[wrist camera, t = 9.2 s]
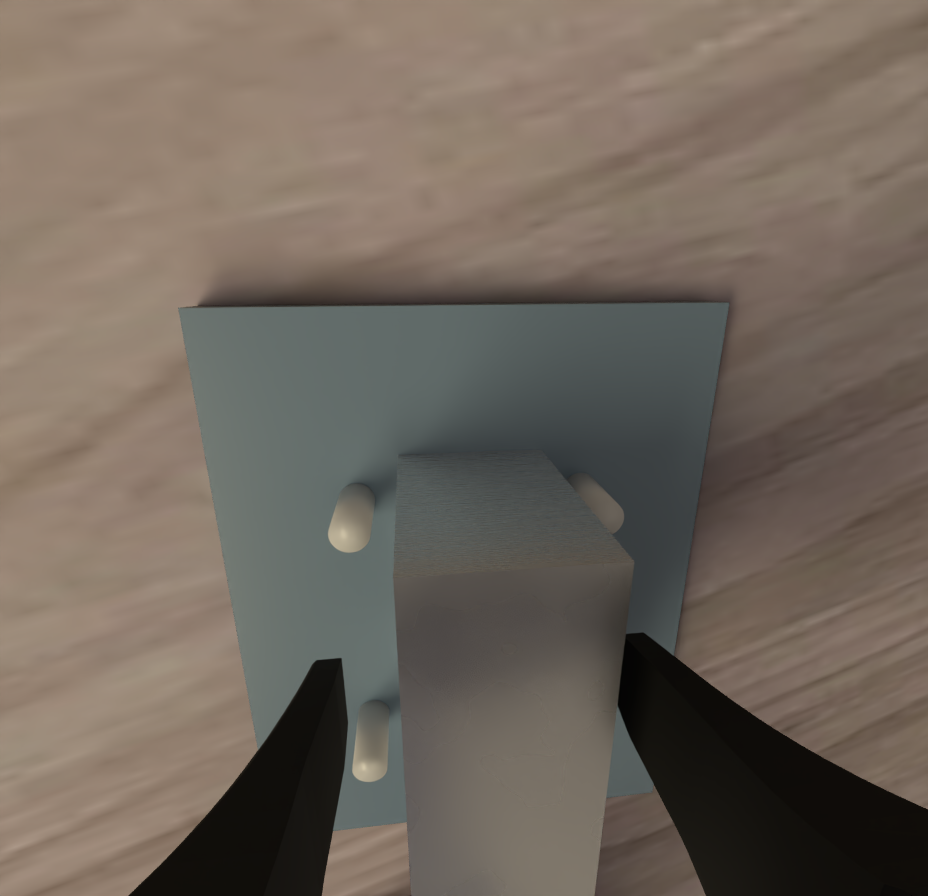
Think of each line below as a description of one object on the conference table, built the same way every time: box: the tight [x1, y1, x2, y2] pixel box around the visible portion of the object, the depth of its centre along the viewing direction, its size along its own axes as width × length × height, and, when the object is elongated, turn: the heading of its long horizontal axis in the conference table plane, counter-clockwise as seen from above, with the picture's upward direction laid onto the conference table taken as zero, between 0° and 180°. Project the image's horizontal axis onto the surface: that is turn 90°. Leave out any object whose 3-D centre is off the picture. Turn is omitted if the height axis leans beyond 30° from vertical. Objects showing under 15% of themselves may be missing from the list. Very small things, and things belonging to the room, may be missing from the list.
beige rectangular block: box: [393, 449, 634, 896], centre depth 12 cm, size 10×4×6 cm, turn 0°
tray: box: [178, 301, 729, 831], centre depth 15 cm, size 18×14×3 cm
